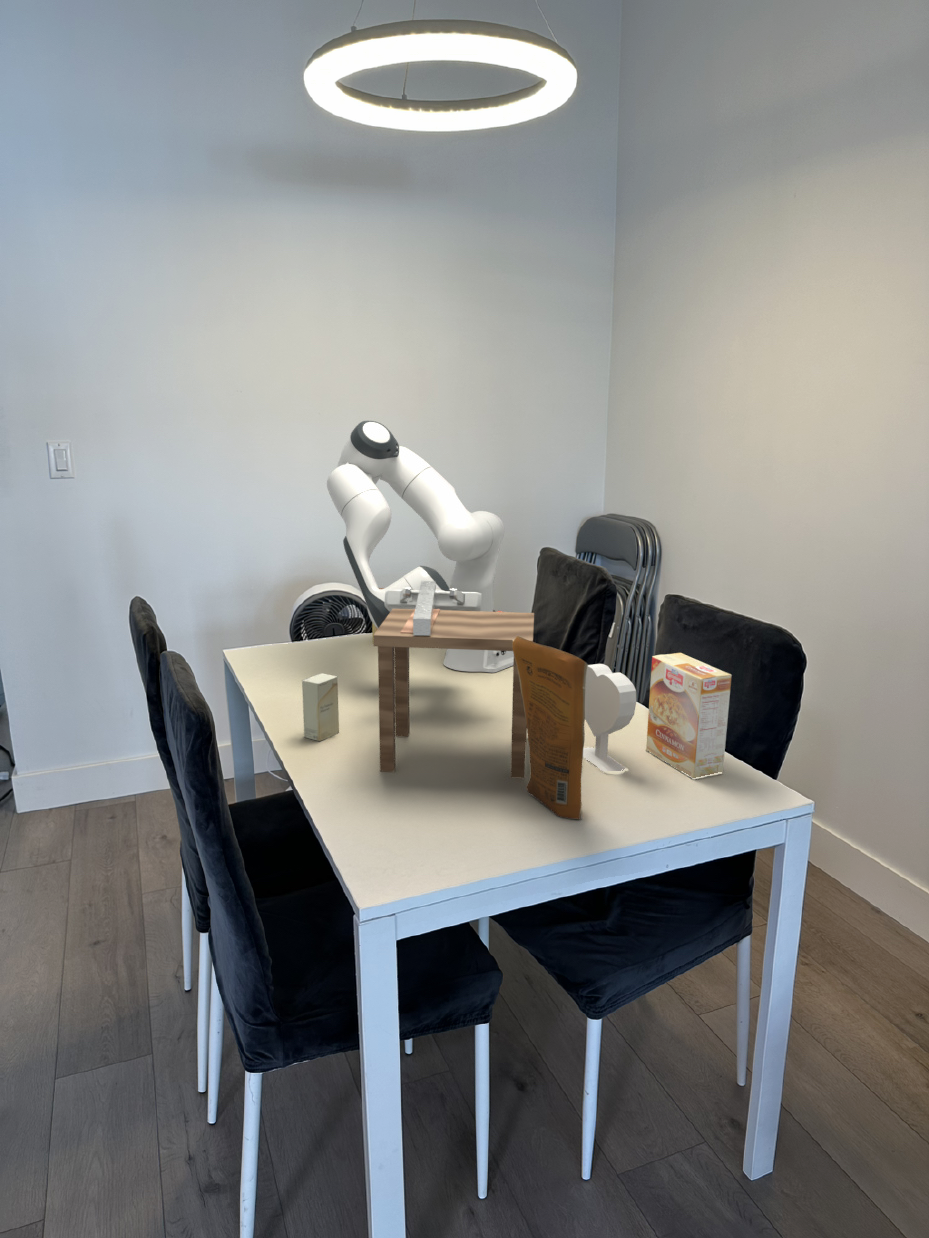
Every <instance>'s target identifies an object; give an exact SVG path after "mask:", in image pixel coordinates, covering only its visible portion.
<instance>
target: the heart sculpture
mask: <svg viewBox="0 0 929 1238" xmlns="http://www.w3.org/2000/svg"><path fill="white" fill-rule="evenodd" d="M636 706H637V690H636V687H635V685H634V684H633V682H632V681H631V680H630V679H629V678H628V677H627V676H626V675H625V674H623V673H621V672H612V670H611V669H610V667H609V666H608V665H606V664H604V663H595V664H588V666H587V672H586V693H585V722H586V724H587V725H588V728H590V731H591V732H592V735H593V736H594V737H595V745H594V746H586V747H587V748H583V757H585V758H586V759H585V760H586V761H587V760H588V761H591V762H592V763H594V764H595V765H596V766H597V767H598V768H600V771H601V770H602V771H607V772H608V771H621V770H622V769H623V770H624V769H625V767H626V766H624V765H623V764H621V763H620V764H621V765H620V764H619V762H618V761H617V760H615V759H614V758H613V757H611V756H610V755H608V753H609V751H608V748H609V747H608V746H609V735H611V734H613V733H615V732H617V731H621V730H622V729H623V728H624V729H625V727H627V726H628V725H629V724H630V723H631V721H632V720H633V717H634V716H635V711H636ZM589 747H591V748H589ZM593 747H595V748H593ZM609 756H610V757H609ZM588 761H587V762H588ZM616 761H617V762H618V763H617V762H616ZM622 765H623V766H624V767H623V766H622ZM597 767H596V768H597ZM598 768H597V769H598ZM623 770H622V771H623ZM602 771H601V772H602Z"/></svg>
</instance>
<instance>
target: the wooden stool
mask: <svg viewBox="0 0 929 1238" xmlns="http://www.w3.org/2000/svg"><path fill="white" fill-rule="evenodd" d="M414 613H415V609H392V610H391V612H390V613H389V615H388V616H387V617H386V619H385V620H384V621H383V623H382V624H381V626H380V627H379V628H378V630H377V631H376V632H375V634H374V635H373V634H372V644H373V647H377V658H378V659H377V662H378V663H377V664H378V667H377V668H378V669H377V671H378V718H379V719H378V723H379V724H378V725H379V727H378V728H379V729H378V730H379V731H378V732H379V737H378V738H379V771H380V772H385V773H394V772H395V770H396V766H397V761H396V760H397V757H396V756H397V754H396V753H397V751H396V745H397V743H396V737H400V738H403V737H405V738H408V737H409V736H410V732H411V731H410V725H411V724H410V722H411V721H410V709H411V708H410V648H411V649H414V648H415V649H417V648H418V649H441V650H443V649H445V650H447V649H467V650H496V651H513V648H512V641H513V640H515V639H516V637H517V636H519V637H522V638H524V639H527V640H529V641H532V642H534V626H535V625H534V624H535V612H513V611H511V612H509V611H501V612H497V611H495V612H484V611H452V610H440V609H434V611H433V619H432V627H431V634H430V635H413V617H414ZM512 672H513V673H512V674H513V675H512V705H511V706H512V709H511V710H512V711H511V715H512V716H511V745H510V746H511V747H510V748H511V749H510V751H511V752H510V753H511V755H510V778H511V779H512V778H513V779H525V776H526V743H527V741H528V734H527V725H526V718H525V711H524V704H523V698H522V694H521V688H520V681H519V675H518V669H517V665H516V661H515V658H514V664H513V671H512Z"/></svg>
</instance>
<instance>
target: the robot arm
mask: <svg viewBox="0 0 929 1238" xmlns="http://www.w3.org/2000/svg"><path fill="white" fill-rule="evenodd" d="M379 480H381V481H383V482H386V483H387V484H388V485H389V487H391V488H392V490H393V492H395V493H396V494H397V495H398V496H399V497H400V498H401V499H402V500H403V501H404V502H405V503H406V504H407V506H409V507H410V508H411V509H412V510H413V511H414V512H415V513H416V514H418V516H419V517H421V519H422V520H423V522H425V523H426V525H427V526H428V527H429V529H430V531H431V532H432V534H433V535H434V537H435V539H436V540H437V545H438V548H439V550H440V552H441V553H442V555H443V556H444V557H445V558H446V559H449V560H450V561H453V562H455V566H454V570H453V573H452V575H451V578H450V582H449V585H448V583H447V582H446V580H445V579H444V578H443V577H442V575H441V574H440V573H439V572H438V571H437V570H436V569H434V568H432V567H430V566H425V565H419V566H418V567H415V568H414V569H412V570H411V571H409V572H408V573H405V574H404V575H403V576H402V577H401V578H399V579H398V580H396V581H394V582H392V583H391V584H390V585H388V586H387V587H383V588H384V589H379V588H380V587H379V585H378V583H377V581H376V578H375V576H374V573H373V572H372V569H371V566H370V557H371V555H372V554H373V552H374V550H375V549H376V547H377V546H378V545H379V543H380V541H381V540H382V539H383V538H384V537H385V536H386V533H387V532H388V530H389V528H390V525H391V522H392V510H391V507H390V506H389V505H390V504H389V503H388V501H387V499H386V498H385V496H384V495H383V493H382V492H381V490H380V489H379V488H378V487H377V483H378V481H379ZM326 488H327V490H328V494H329V496H330V498H331V501H332V502H333V504H334V506H335V508H336V510H337V513H339V515H340V517H341V518H342V519H343V522H344V524H345V528H346V535H345V536H344V537H343V540H342V542H343V547H344V552H345V554H346V556H347V559H348V562H349V565H350V566H351V569H352V572H353V574H354V576H355V579H356V581H357V583H358V586H359V589H360V591H361V593H362V596H363V598H364V601H365V603H366V609H367V613H368V616H369V619H370V621H371V622H373V624H374V625H375V627H376V628H377V629H378V628H379V627H380V626H381V624H382V623H383V621H384V620H385V619H386V617H387V616H388V615H389V613H390V612H391V610H392V609H415V608H416V604H417V599H418V594H419V590H420V585H421V581H436V591H435V604H434V609H440V610H452V611H484V612H502V611H501V610H497V611H496V610H494V591H495V590H494V588H495V587H494V586H495V578H496V571H497V565H498V561H499V556H500V549H501V544H502V541H503V538H504V536H505V526H504V522H503V521H502V519H501V518H500V516H498V515H497V514H495V513H493V512H490V511H485V510H477V511H473V512H470V511H469V510H468V509H467V507H465V505H464V504H463V503H462V501H461V500H460V498H459V496H458V494H457V490H456V489H455V487H454V486H453V485H452V484H451V483H450V482H449V481H447V479H446V478H444V476H443V475H441V474H440V473H439V472H438V471H437V470H436V469H435V468H434V467H433V466H432V465H430V463H428V462H427V461H426V460H425V459H423V458H422V457H421V456H420V455H418V453H416V452H414V451H412V450H411V449H409V448H408V447H405V446H401V445H400V444H399V442H398V440H397V439H396V438H395V436H394V435H393V433H392V432H391V431H390V430H389V429H388V427H387V426H386V425H384V424H382V423H381V422H378V421H374V420H363V421H361V422H359V423H358V424H357V425H356V426H355V427H354V429H353V430H352V431H351V433H350V436H349V438H348V439H347V441H346V443H345V445H344V446H343V448H342V451H341V454H340V457H339V460H338V462H337V465H336V468H334V469H333V470H332V471H331V472H330V473H329V475H328V477H327V480H326ZM513 664H514V654H513V651H496V650H467V649H446V651H445V655H444V660H443V666H445V667H446V668H449V669H451V670H455V671H461V672H476V673H477V672H480V673H481V672H483V673H497V672H500V671H502V670H504V669H507V668H510V667H512V666H513Z"/></svg>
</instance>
